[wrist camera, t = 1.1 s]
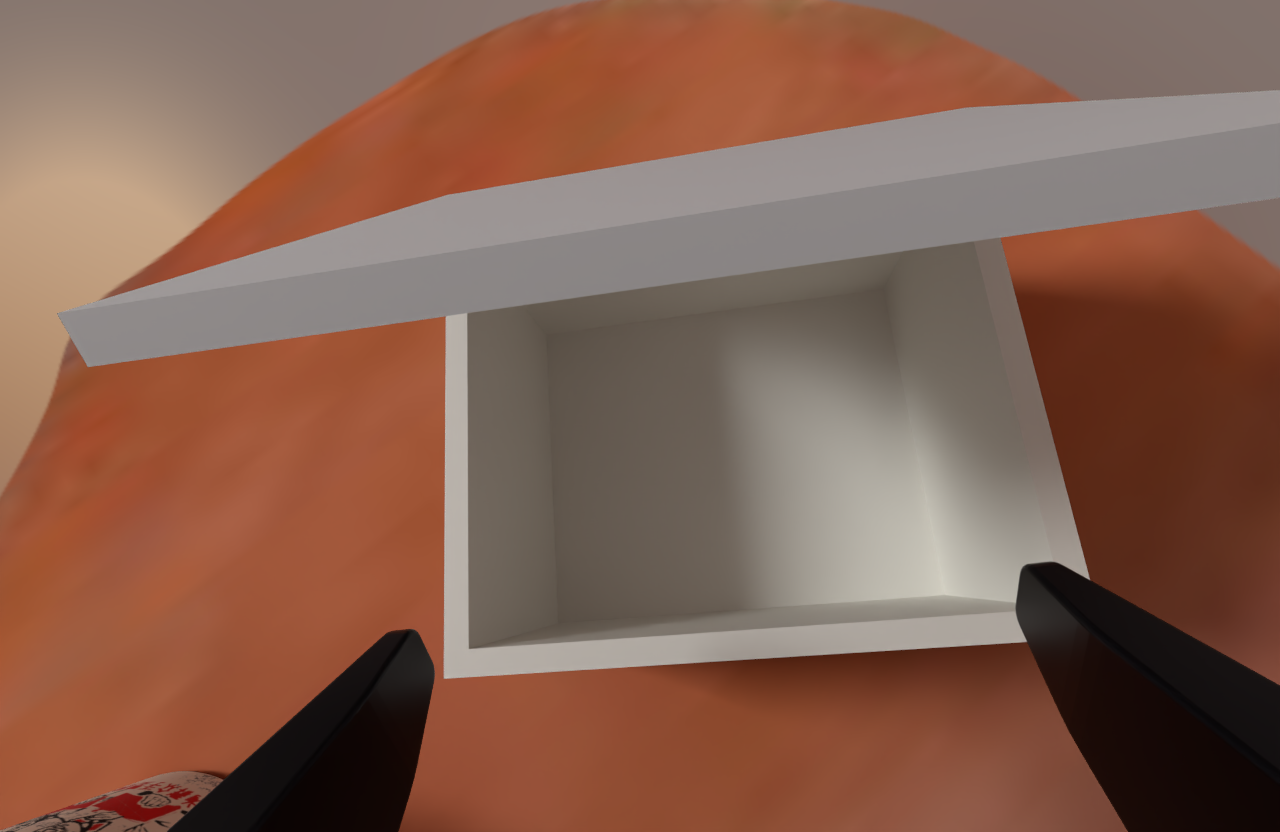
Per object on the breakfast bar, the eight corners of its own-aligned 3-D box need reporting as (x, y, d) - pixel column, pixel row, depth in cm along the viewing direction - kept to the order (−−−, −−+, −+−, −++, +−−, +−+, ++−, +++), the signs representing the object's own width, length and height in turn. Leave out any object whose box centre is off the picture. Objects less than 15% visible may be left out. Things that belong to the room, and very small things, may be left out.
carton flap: (1567, 157, 5) (1606, 72, 5) (87, 366, 7) (56, 313, 6) (964, 134, 15) (965, 107, 15) (453, 217, 17) (447, 195, 17)
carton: (961, 612, 20) (1104, 636, 12) (547, 640, 22) (443, 678, 14) (893, 279, 23) (972, 133, 15) (535, 328, 25) (446, 218, 17)
